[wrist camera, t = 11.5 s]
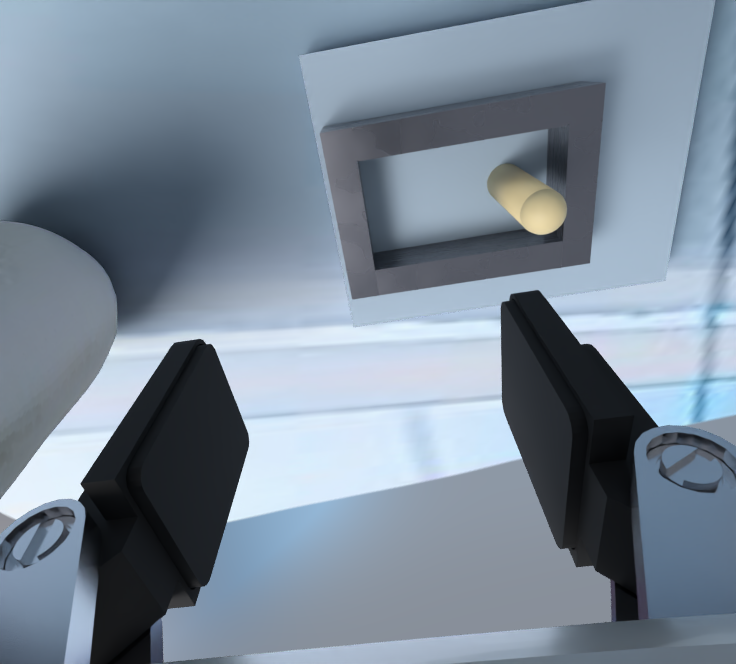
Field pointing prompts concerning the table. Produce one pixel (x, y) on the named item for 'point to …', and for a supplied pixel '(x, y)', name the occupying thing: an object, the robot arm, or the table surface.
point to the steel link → (457, 126)
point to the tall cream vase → (46, 336)
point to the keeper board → (523, 141)
